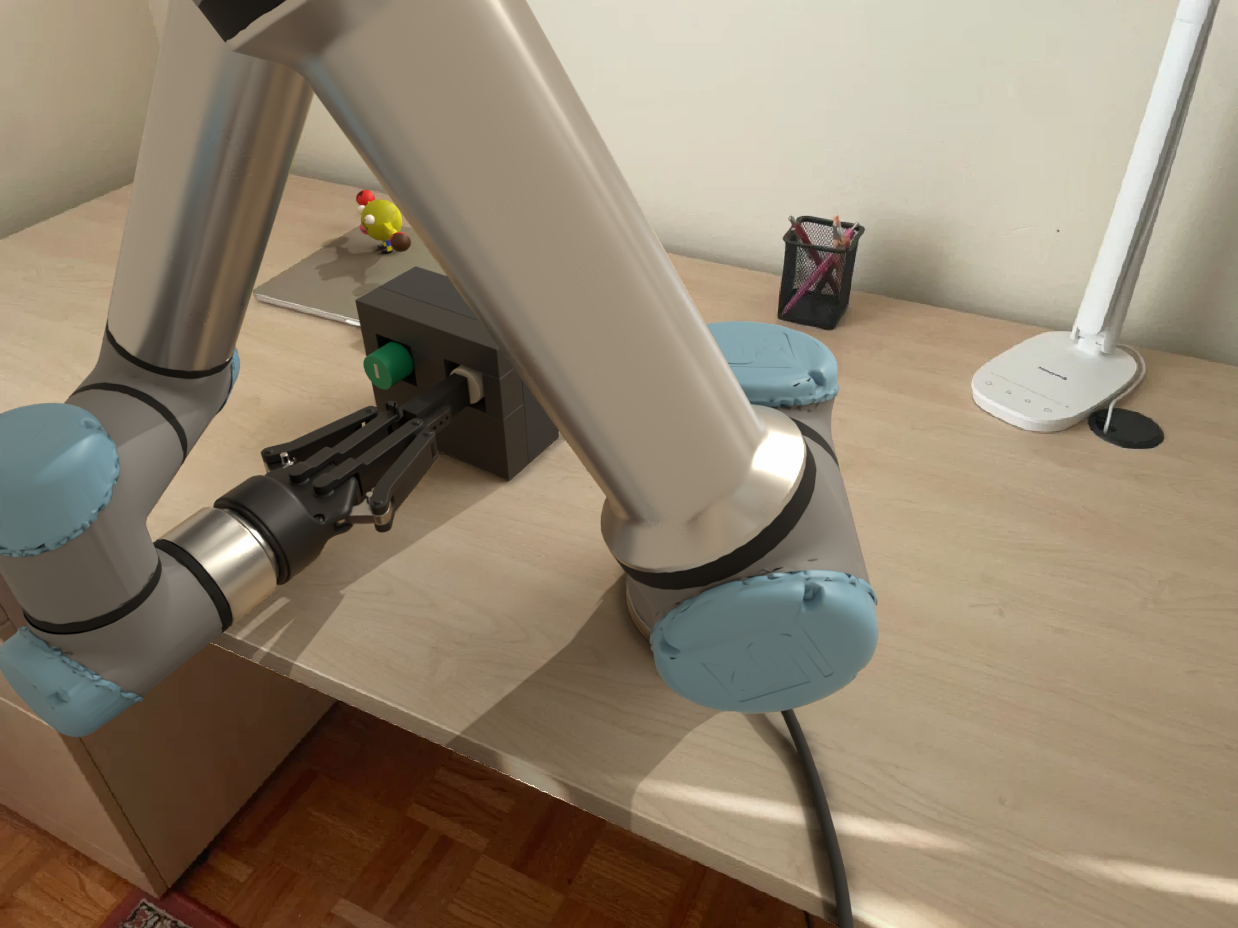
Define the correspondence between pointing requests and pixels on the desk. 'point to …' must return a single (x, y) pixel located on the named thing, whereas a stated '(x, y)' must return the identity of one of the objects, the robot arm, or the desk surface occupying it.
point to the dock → (439, 343)
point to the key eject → (472, 382)
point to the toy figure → (382, 222)
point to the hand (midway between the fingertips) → (462, 388)
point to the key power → (388, 365)
